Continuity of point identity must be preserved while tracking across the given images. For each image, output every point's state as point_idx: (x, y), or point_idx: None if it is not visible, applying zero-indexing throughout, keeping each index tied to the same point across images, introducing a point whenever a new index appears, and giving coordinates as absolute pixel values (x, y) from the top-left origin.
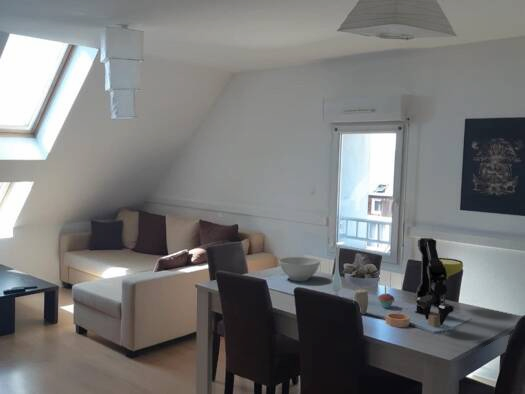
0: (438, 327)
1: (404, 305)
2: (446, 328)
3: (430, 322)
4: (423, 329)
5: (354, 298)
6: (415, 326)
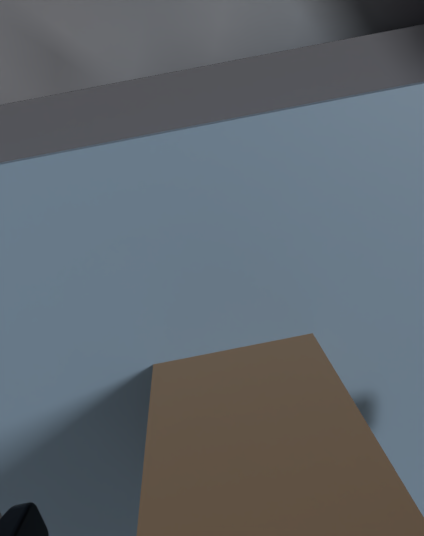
0: (120, 434)
1: None
2: None
3: (271, 392)
4: (166, 108)
5: None
6: (420, 38)
